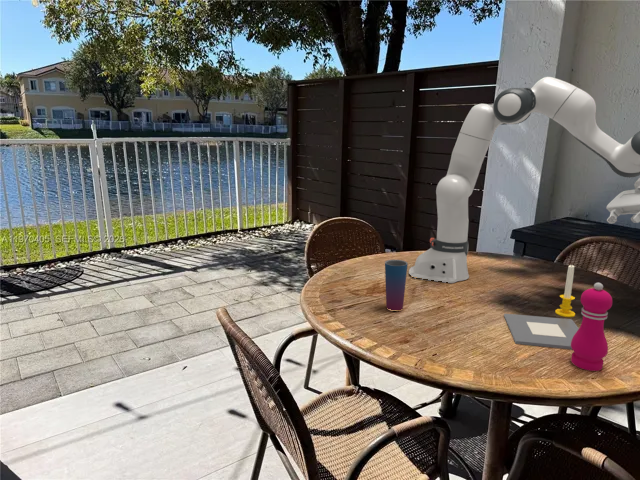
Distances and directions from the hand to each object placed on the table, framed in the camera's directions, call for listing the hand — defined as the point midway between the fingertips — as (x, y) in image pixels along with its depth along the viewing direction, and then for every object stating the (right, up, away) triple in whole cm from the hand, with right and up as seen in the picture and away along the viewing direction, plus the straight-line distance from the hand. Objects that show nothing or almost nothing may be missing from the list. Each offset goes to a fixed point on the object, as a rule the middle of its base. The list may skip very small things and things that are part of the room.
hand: (621, 221), depth 122 cm
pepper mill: (-25, -34, -24) cm, 49 cm away
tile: (-26, -30, -7) cm, 41 cm away
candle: (-14, -28, +5) cm, 31 cm away
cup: (-64, -27, +9) cm, 70 cm away
